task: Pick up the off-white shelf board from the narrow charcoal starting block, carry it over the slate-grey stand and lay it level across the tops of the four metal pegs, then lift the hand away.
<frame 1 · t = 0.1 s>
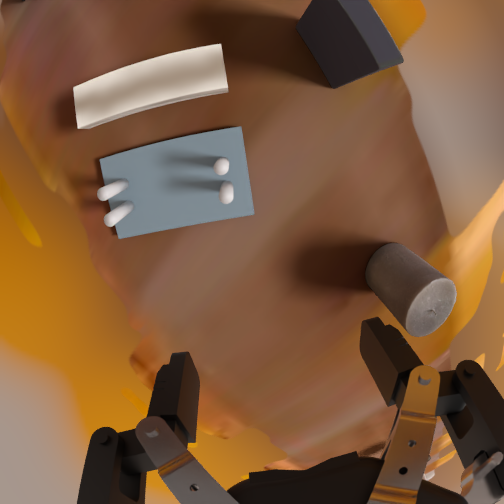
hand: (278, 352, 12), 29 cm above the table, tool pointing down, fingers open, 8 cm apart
shelf board: (150, 87, 27), point 5 cm above the table, touching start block
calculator: (322, 54, 31), on the table
peg stand: (175, 182, 37), on the table
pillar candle: (388, 267, 45), on the table
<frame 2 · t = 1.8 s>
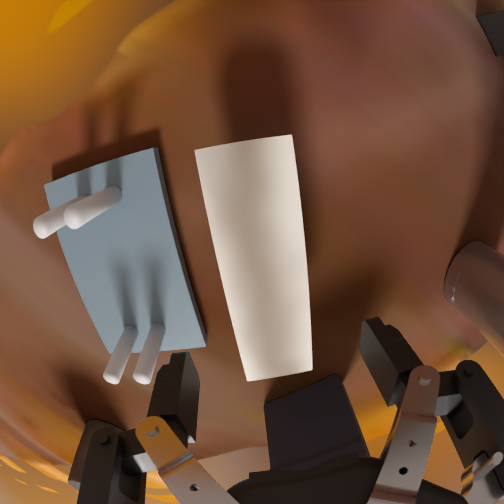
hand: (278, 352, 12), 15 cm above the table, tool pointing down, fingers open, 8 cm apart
shelf board: (262, 264, 21), point 5 cm above the table, touching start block
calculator: (303, 393, 35), on the table
phone stand: (497, 34, 16), on the table
peg stand: (126, 264, 26), on the table
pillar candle: (110, 433, 38), on the table
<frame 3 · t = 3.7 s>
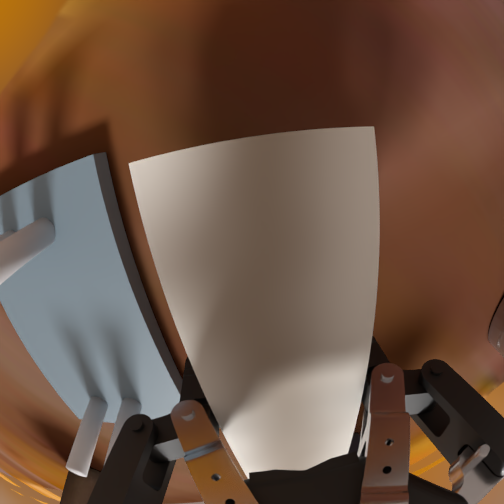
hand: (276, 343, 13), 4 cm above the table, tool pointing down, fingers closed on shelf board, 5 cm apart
shelf board: (280, 358, 12), point 5 cm above the table, touching gripper, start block
peg stand: (79, 323, 16), on the table
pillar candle: (96, 475, 29), on the table
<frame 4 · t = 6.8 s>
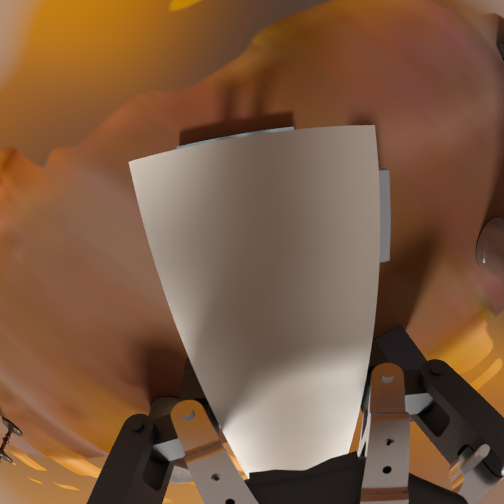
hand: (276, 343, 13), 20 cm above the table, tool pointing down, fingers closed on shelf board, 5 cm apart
shelf board: (280, 357, 12), point 21 cm above the table, touching gripper
candlestick: (12, 426, 54), on the table
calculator: (372, 346, 40), on the table
peg stand: (250, 224, 31), on the table
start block: (359, 207, 31), on the table
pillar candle: (177, 410, 44), on the table
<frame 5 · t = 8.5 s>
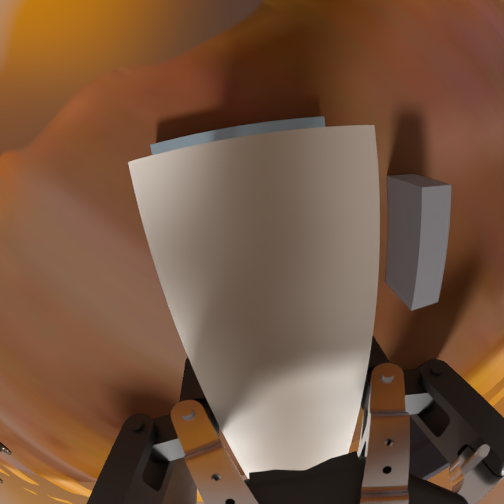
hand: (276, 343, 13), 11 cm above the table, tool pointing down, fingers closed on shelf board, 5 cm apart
shelf board: (280, 357, 12), point 12 cm above the table, touching gripper
candlestick: (1, 444, 44), on the table
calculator: (396, 385, 32), on the table
peg stand: (257, 255, 22), on the table
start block: (401, 230, 22), on the table
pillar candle: (169, 452, 35), on the table
when the fingers open (9 cm above the table, at t = 9.8 s): shelf board drops 1 cm, resting on peg stand.
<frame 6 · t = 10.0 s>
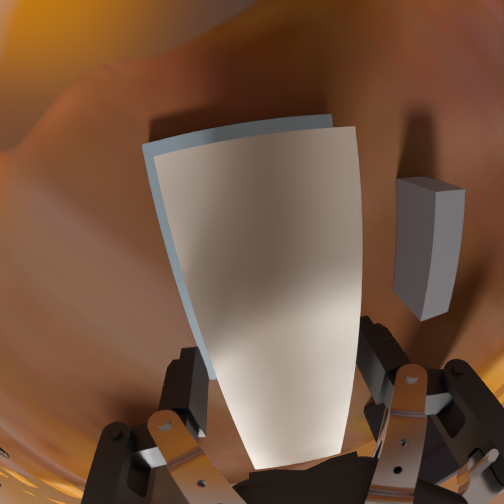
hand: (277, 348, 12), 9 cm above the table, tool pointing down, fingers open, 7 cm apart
shelf board: (279, 336, 13), point 8 cm above the table, touching peg stand
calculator: (399, 393, 30), on the table
peg stand: (258, 263, 21), on the table
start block: (410, 235, 21), on the table
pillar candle: (168, 460, 33), on the table
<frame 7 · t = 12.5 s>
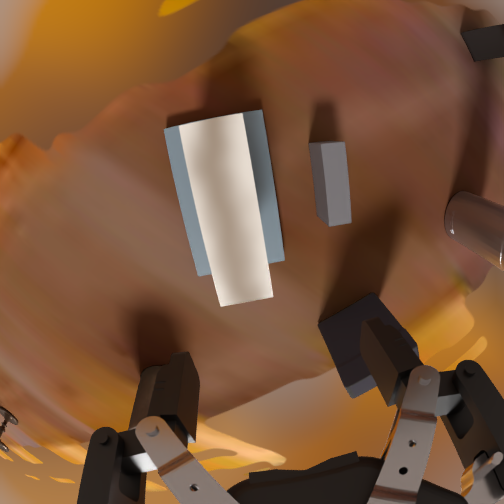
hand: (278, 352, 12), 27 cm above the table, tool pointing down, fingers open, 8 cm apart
shelf board: (229, 209, 28), point 8 cm above the table, touching peg stand
candlestick: (8, 415, 56), on the table
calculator: (347, 313, 45), on the table
phone stand: (476, 44, 27), on the table
peg stand: (227, 194, 36), on the table
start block: (323, 178, 36), on the table
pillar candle: (165, 381, 48), on the table
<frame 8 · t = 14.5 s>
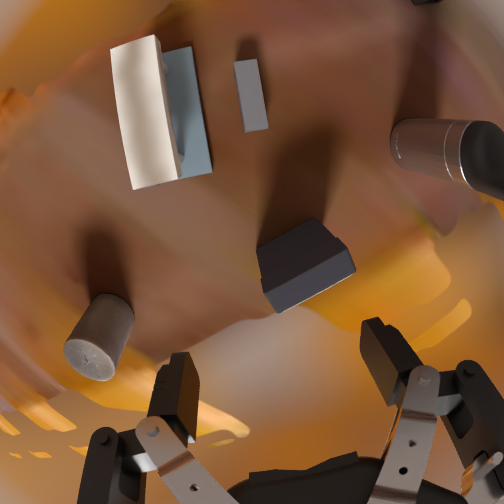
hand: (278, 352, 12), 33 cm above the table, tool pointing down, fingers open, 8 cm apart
shelf board: (147, 110, 29), point 8 cm above the table, touching peg stand
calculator: (289, 239, 46), on the table
peg stand: (162, 116, 37), on the table
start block: (248, 99, 37), on the table
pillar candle: (113, 313, 49), on the table
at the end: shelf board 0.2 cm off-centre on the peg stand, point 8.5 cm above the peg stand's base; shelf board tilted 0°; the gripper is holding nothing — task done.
